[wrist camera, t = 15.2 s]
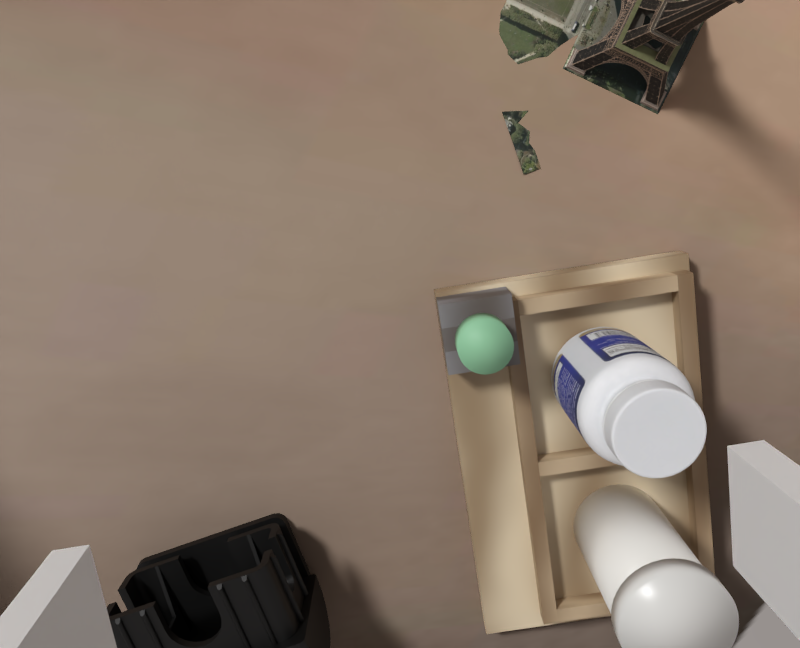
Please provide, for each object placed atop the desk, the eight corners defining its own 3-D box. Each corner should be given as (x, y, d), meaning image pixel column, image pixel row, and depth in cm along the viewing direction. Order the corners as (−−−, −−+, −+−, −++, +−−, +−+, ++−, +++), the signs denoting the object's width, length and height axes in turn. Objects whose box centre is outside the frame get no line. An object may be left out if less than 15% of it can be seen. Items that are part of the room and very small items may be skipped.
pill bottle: (601, 439, 40) (659, 518, 32) (529, 379, 40) (568, 443, 31) (671, 366, 40) (749, 427, 31) (598, 303, 39) (658, 348, 30)
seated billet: (574, 573, 42) (624, 687, 33) (564, 488, 41) (613, 582, 32) (667, 559, 42) (742, 670, 33) (660, 474, 41) (735, 565, 32)
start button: (455, 358, 38) (461, 378, 35) (448, 308, 38) (453, 324, 34) (506, 350, 38) (517, 369, 35) (499, 300, 38) (510, 315, 34)
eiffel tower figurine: (752, -135, 36) (957, -298, 23) (804, 74, 38) (1018, 33, 25) (456, -16, 37) (491, -107, 24) (522, 181, 39) (588, 195, 26)
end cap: (179, 663, 45) (142, 752, 38) (128, 562, 43) (81, 636, 37) (336, 611, 44) (327, 692, 37) (291, 506, 42) (273, 571, 36)
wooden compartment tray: (483, 621, 44) (490, 657, 41) (433, 289, 40) (437, 301, 37) (704, 588, 44) (729, 622, 41) (679, 250, 39) (704, 259, 36)
